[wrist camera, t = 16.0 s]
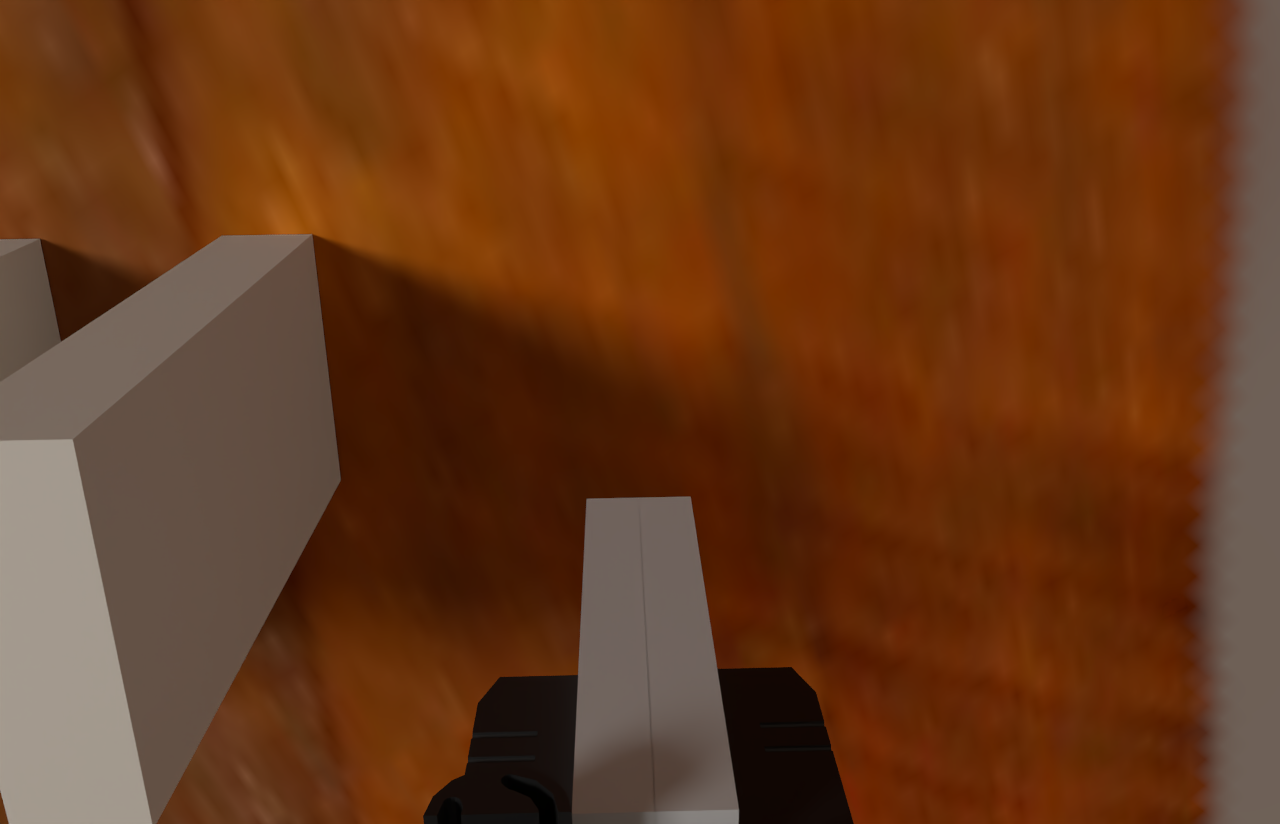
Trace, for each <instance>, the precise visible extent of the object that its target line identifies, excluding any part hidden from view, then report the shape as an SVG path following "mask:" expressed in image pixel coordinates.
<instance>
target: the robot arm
mask: <svg viewBox="0 0 1280 824" xmlns="http://www.w3.org/2000/svg"><path fill="white" fill-rule="evenodd" d="M423 818H424V824H853V820H852V817H851V813H850V810H849V806H848V803H847V799H846V796H845V792H844V789H843V785H842V782H841V778H840V775H839V771H838V768H837V764H836V761H835V758H834V754H833V751H831V744H830V740H829V737H828V733H827V730H826V727H824V719H823V716H822V712H821V709H820V705H819V702H818V698H817V695H816V692H815V691H814V690H813V689H812V688H811V687H810V686H809V685H808V684H807V683H806V682H805V681H804V680H803V679H802V678H801V677H800V676H799V675H798V674H797V673H796V671H795V670H794V669H793V668H792V667H782V668H740V669H717V664H716V658H715V651H714V645H713V638H712V632H711V625H710V619H709V612H708V606H707V599H706V593H705V586H704V580H703V573H702V567H701V560H700V554H699V547H698V541H697V534H696V528H695V521H694V515H693V508H692V502H691V496H690V497H643V498H595V499H586V520H585V542H584V563H583V584H582V606H581V627H580V648H579V669H578V675H569V676H527V677H500V678H499V679H498V680H497V681H496V682H495V684H494V685H493V686H492V687H491V688H490V690H489V691H488V692H487V693H486V694H485V696H484V697H483V698H482V699H481V700H480V702H479V703H478V706H477V712H476V717H475V722H474V728H473V738H472V739H471V744H470V750H469V755H468V763H467V766H466V771H465V775H464V776H461V777H459V778H457V779H454V780H452V781H451V782H450V783H448V784H447V785H446V786H445V787H444V788H443V789H441V790H440V791H439V792H438V793H437V794H436V795H434V796H433V798H432V800H431V802H430V804H429V806H428V808H427V810H426V812H425V814H424V816H423Z"/></svg>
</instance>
